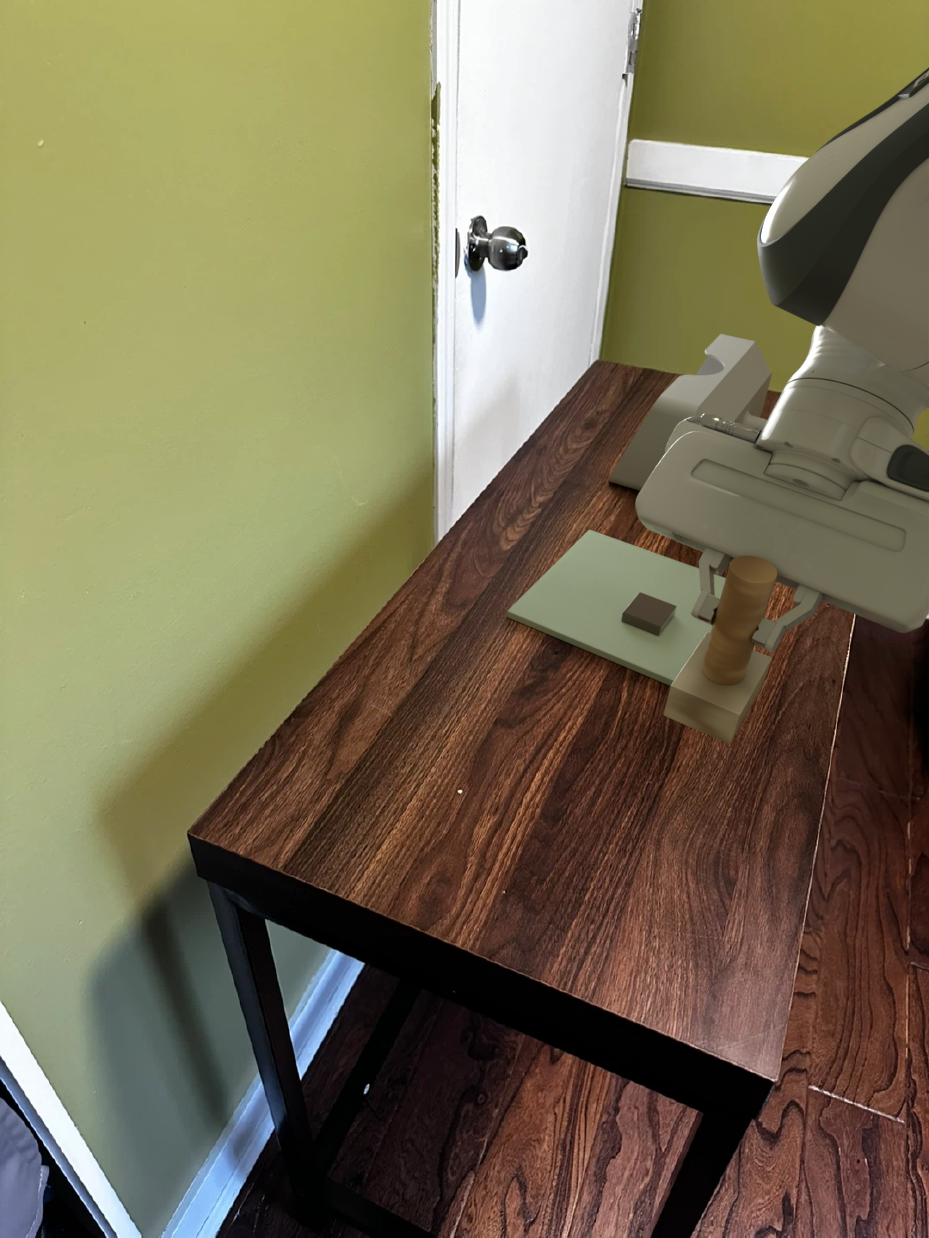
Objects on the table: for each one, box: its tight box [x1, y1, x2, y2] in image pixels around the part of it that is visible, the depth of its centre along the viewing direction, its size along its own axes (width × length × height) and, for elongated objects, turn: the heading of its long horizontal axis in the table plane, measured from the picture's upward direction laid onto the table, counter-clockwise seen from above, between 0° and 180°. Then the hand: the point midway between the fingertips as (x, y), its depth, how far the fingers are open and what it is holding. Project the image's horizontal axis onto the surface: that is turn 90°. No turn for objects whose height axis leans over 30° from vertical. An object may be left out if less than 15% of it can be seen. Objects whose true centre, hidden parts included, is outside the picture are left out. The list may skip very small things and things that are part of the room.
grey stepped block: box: [607, 333, 773, 492], centre depth 107 cm, size 25×16×12 cm, turn 150°
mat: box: [506, 529, 726, 687], centre depth 87 cm, size 20×18×1 cm
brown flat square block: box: [621, 592, 676, 636], centre depth 84 cm, size 4×4×1 cm
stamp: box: [663, 556, 777, 745], centre depth 59 cm, size 5×7×12 cm
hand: (731, 634), depth 58 cm, fingers closed on stamp, 3 cm apart
